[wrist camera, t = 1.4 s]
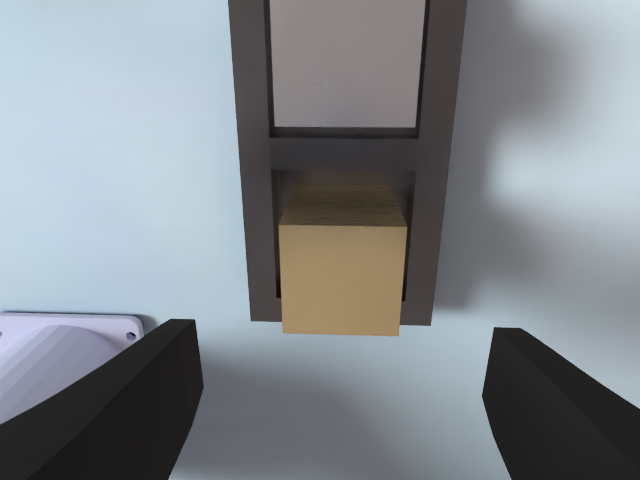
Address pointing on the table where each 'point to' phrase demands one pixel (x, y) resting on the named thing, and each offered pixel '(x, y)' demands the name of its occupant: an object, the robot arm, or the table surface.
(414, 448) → the table surface
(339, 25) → the matte gray cube
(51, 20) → the table surface
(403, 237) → the light wood cube
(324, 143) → the rail
